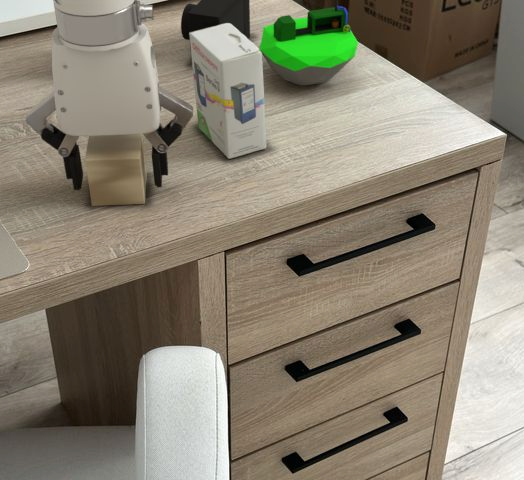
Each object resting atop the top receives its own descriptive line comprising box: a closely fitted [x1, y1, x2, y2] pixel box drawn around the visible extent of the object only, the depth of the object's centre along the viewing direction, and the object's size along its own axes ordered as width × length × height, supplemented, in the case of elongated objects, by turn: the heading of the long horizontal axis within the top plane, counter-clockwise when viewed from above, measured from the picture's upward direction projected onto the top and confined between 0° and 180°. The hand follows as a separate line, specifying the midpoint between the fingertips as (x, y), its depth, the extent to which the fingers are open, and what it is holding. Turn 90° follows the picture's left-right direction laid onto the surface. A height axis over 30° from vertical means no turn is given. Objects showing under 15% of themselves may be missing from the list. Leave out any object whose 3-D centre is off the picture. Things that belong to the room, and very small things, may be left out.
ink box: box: [189, 23, 267, 160], centre depth 105 cm, size 9×5×12 cm, turn 27°
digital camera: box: [180, 0, 251, 65], centre depth 123 cm, size 10×5×7 cm, turn 160°
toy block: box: [84, 134, 148, 207], centre depth 99 cm, size 6×6×6 cm
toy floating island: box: [259, 0, 359, 86], centre depth 116 cm, size 12×12×11 cm
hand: (118, 181), depth 100 cm, fingers open, 7 cm apart
